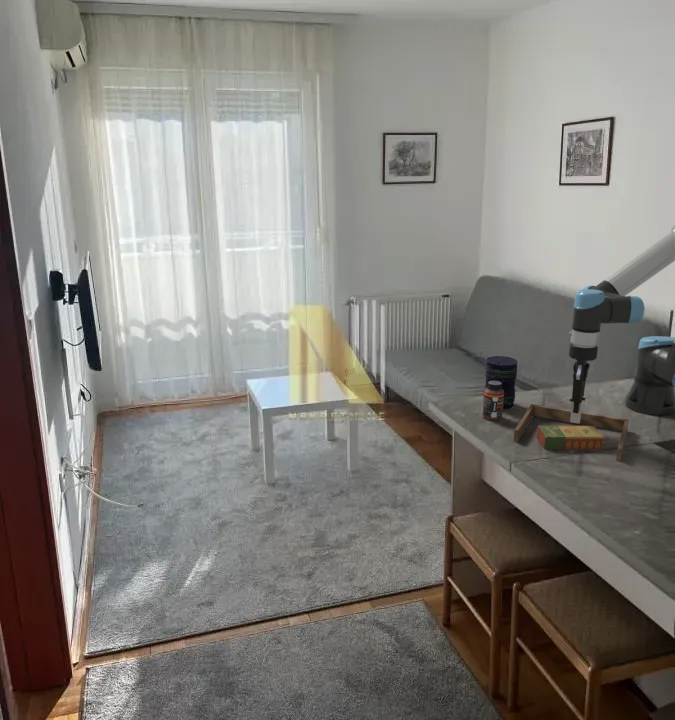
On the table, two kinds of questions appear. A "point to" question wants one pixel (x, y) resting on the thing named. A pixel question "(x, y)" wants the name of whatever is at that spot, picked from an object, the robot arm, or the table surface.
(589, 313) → the robot arm
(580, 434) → the carton
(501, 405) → the supplement bottle
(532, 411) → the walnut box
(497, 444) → the table surface
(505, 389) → the storage jar
